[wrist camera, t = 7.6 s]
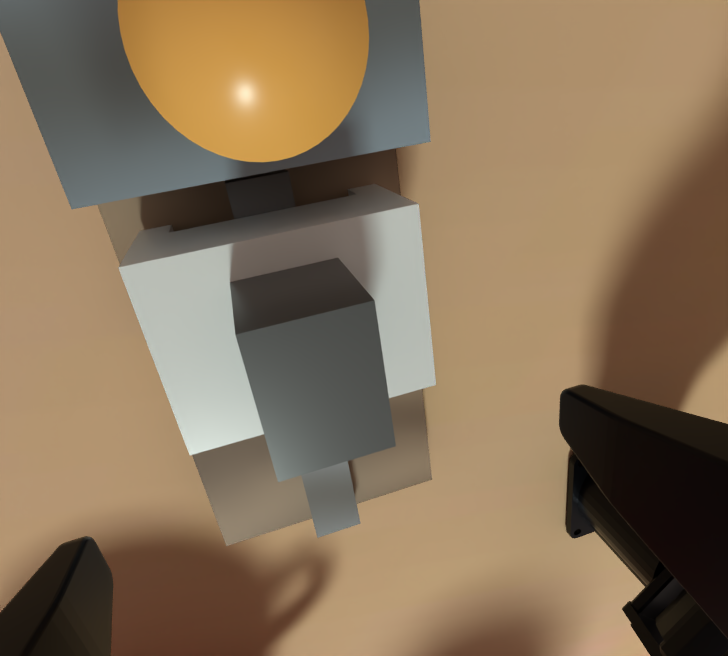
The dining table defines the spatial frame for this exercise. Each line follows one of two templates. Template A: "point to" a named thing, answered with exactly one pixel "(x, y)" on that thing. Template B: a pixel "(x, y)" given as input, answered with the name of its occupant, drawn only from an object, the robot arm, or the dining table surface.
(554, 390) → the dining table surface
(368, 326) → the carriage
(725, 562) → the robot arm
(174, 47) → the button
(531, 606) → the dining table surface
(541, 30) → the dining table surface
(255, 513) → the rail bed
